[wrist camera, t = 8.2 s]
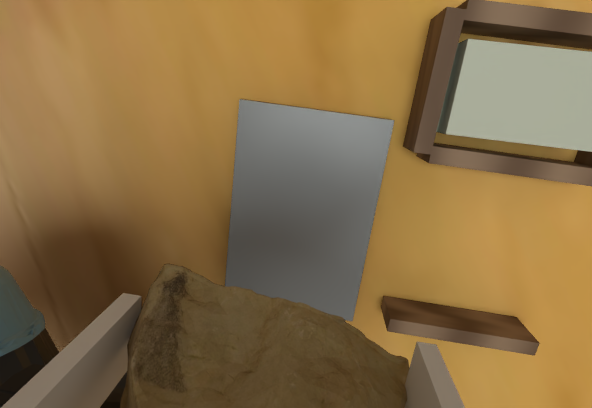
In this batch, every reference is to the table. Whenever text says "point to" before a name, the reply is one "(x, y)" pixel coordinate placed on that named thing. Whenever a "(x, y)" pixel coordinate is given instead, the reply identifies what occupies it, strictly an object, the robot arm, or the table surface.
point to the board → (304, 203)
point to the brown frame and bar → (481, 153)
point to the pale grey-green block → (520, 95)
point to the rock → (251, 352)
